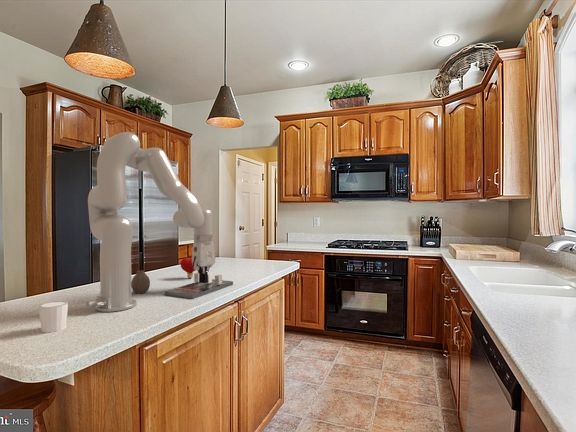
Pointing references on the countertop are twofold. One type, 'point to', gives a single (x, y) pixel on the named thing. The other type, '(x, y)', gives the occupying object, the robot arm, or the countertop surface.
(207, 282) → the handle
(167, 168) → the robot arm
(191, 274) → the light bulb
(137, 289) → the vase
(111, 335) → the countertop surface
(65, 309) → the white cup
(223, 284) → the switch panel
